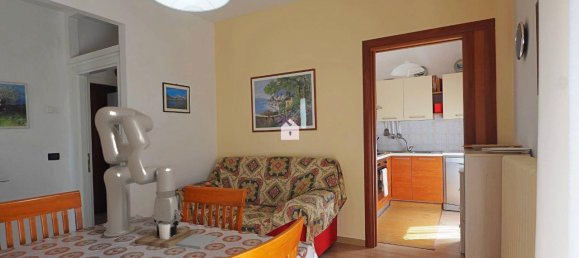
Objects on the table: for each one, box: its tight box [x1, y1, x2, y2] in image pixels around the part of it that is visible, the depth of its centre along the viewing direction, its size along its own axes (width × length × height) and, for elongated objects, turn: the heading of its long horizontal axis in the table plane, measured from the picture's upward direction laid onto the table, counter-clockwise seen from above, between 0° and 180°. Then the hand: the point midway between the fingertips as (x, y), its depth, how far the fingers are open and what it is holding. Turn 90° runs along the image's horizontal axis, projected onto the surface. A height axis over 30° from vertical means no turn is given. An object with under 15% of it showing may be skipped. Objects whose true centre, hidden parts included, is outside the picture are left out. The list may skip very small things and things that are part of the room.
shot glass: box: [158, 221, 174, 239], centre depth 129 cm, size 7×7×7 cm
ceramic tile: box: [175, 233, 218, 249], centre depth 124 cm, size 12×12×1 cm
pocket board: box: [134, 227, 198, 249], centre depth 129 cm, size 18×18×2 cm
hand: (166, 234), depth 129 cm, fingers closed on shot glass, 6 cm apart
